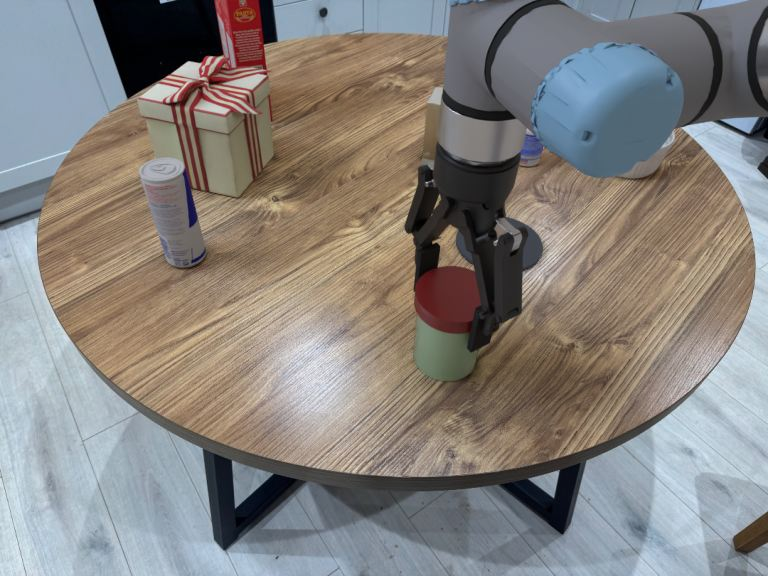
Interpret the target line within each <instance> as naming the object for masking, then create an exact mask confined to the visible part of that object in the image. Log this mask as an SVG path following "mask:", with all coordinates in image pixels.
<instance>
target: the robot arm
mask: <svg viewBox="0 0 768 576" xmlns="http://www.w3.org/2000/svg"><path fill="white" fill-rule="evenodd" d="M449 7H450V8H449V17H448V29H447V38H446V49H445V59H444V71H443V72H444V73H443V82H442V86H443V87H442V88H443V93H442V96H441V104H440V112H439V120H438V128H437V139H438V142H437V145H436V151H435V160H434V162H432V163H429V164H426V165H421V166H418V169H417V184H416V185H417V186H416V189H415V191H414V194H413V198H412V200H411V204H410V207H409V210H408V214H407V216H406V219H405V222H404V225H403V227H404V231H405V233H406V234H407V235H412V236H413V238H412V242H413V245H414V247H415V248H414V249H415V251H414V264H415V271H414V280H413V292H414V293H415V287H416V284H417V282H418V280H419V279H420V277H421V276H422V275H423V274H425V273H426V272H428V271H430V270H432V269H434V268H438V267H439V263H440V262H439V261H440V255H441V244H439V242H435V241H437V240H439V239H441V238H442V237H441V235H442V234H443V233H444V232H445V231H446V230H447V228H448V227H449V226H451V227H453V228H455V229H456V230H457V231H458V230H459V232H460V233H461V234H462V235H463V236H464V241H465V246H466V250H467V251H468V252H470V253H471V255H472V260H473V264H472V265H473V271H475V276H476V281H477V286H478V291H479V296H480V302H481V305H480V306H478V307H476V308H475V312H474V317H473V321H472V326H471V331H470V335H469V340H468V345H467V349H468V350H469V351H470V352H471V353H472V352H474V351H476V350H478V349H479V350H480V349H481V348H483V347H486V346H487V345H489V344H491V341H492V337H493V334H494V333H496V332H497V331H498V330H499V329H500V326H501V324H504V323H505V322H508V321H510V320H511V319H513V318H516V317H518V316H520V315H522V312H523V280H524V279H523V278H524V277H523V275H524V273H523V272H524V271H523V249H524V247H525V244H526V241H527V239H528V231H527V229H526V228H525V227H523V226H521V227H519V228H517V229H515V228H514V227H513V226H512V225H511V224H510V223H509V222H508V221H507V220H506V217H507V211H506V207H505V206H506V202H507V199H508V197H509V196H510V195H511V193H512V191H513V189H514V187H515V184H516V180H517V176H518V171H519V167H520V165H519V163H520V159H521V152H520V151H521V149H522V148H523V144H524V140H525V135H526V131H527V129H529V130H530V131H531V132H532V133H533V134H534V135H535V136H536V137H537V139H539V140H540V143H541V144H542V145H543V147H544V149H546V150H547V151H549V153H553V154H554V155H555V156H557V158H562V159H563V160H564V161H565V162H567V163H568V164H570V165H571V166H572V167H573V168H574V169H576V170H577V171H579V172H580V173H581V174H583V175H585V176H588V177H592V178H596V179H610V178H616V177H618V176H619V175H622V174H625V173H627V172H629V171H630V170H631V169H632V168H633V167H634V165H635V164H636V163H637V162H639V161H644V162H645V161H647V160H648V159H649V158H650V157H652V156H653V155H654V154H655V153H656V152H657V151H658V150H659V149H660V148H661V147H662V146H663V144H664V143H665V142H666V141H667V139H668V138H669V136H670V135H671V133H672V132H673V131H674V130H677V129H680V128H685V127H687V126H692V125H698V124H704V123H709V122H715V121H722V120H729V119H730V120H731V119H746V118H768V0H744V1H739V2H735V3H730V4H725V5H720V6H714V7H713V6H712V7H707V8H702V9H701V8H700V9H696V10H695V9H694V10H690V11H679V12H671V13H662V14H653V15H648V16H640V17H633V18H624V19H619V20H611V21H600V20H595V19H592V18H590V17H588V16H587V15H585V14H583V13H582V12H580V11H578V10H577V9H574V8H572V7H571V6H569V4H567V3H566V2H564V1H563V0H449ZM439 197H440V200H439ZM438 200H439V201H438ZM486 234H488V236H487V237H485V238H483V239H481V240H478V241H476V238H479V237H481V236H484V235H486Z"/></svg>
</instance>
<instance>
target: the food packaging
mask: <svg viewBox="0 0 768 576" xmlns="http://www.w3.org/2000/svg"><path fill="white" fill-rule="evenodd" d="M213 1H214V7H215V12H216V18H217V23H218V29H219V36H220V42H221V48H222V54H223V57H227V58H230V60H229V61H226V63H225V64H224V65H225V68H234V67H245V66H249V67H253V68H258V69H262V70H268V69H267V60H266V53H265V44H264V43H265V42H264V34H263V27H262V18H261V10H260V9H261V8H260V1H259V0H213ZM261 75H266V76H268V72H267V73H264V74H261ZM268 99H269V109H270V118H271V123H272V122H274V119H273V111H272V110H273V109H272V103H271V94H270V95H269V96H268Z"/></svg>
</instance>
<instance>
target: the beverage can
mask: <svg viewBox="0 0 768 576" xmlns="http://www.w3.org/2000/svg"><path fill="white" fill-rule="evenodd" d="M138 174H139V177H140V182H141V185H142V188H143V192H144V194H145V198H146V200H147V203H148V206H149V210H150V212H151V216H152V220H153V222H154V225H155V229H156V231H157V233H158V237H159V240H160V244H161V247H162V250H163V253H164V256H165V260H166V262H167V263H168V264H169V265H171V266H173V267H176V268H182V269H183V268H190V267H194V266H196V265H197V264H199V263H201V262H202V261H203V260H204V259H205V257H206V256H207V248H206V244H205V240H204V235H203V231H202V228H201V223H200V220H199V216H198V212H197V208H196V204H195V201H194V196H193V193H192V188H191V187H190V184H189V180H188V176H187V172H186V169H185V166H184V164H183V162H181V161H180V160H178V159H175V158H157V159H156V158H153V159H151V160H148V161H146V162H144V163H143V164H142V165H141V166H140V168H139V169H138Z"/></svg>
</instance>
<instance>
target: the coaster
mask: <svg viewBox="0 0 768 576" xmlns="http://www.w3.org/2000/svg"><path fill="white" fill-rule="evenodd" d="M506 220H507V221H508V222H509V223H510V224H511V225H512V226H513V227H514V228H515V229H517V228H519V227H521V226H523V227H525V228H526V229H527V231H528V239H527V241H526V244H525V247H524V249H523V272H524V271H527V270H529V269H531V268H533V267H534V266H535V265H536V264H537V263H539V261H540V260H541V257H542V254H543V250H544V245H543V241H542V239H541V237H540V236H539V234H538V233H537V232H536V231H535V230H534V229H533V228H532V227H531V226H530V225H528V224H527V223H524V222H522V221H520V220H518V219H515V218H512V217H508V216H506ZM487 236H488V234H486V235H484V236H481V237H479V238H476V241H478V240H481V239H483V238H485V237H487ZM455 245H456V246H455V247H456V249H457V251H458V252H459V254H460V255H461V257H463V258H464V259H465V260H466V261H467V262H468V263H470V265H473V260H472V255H471V253H470V252H468V251H467V250H466V246H465V241H464V236H463V235H462V234H461V233H460V232H459V230H458V229H457V231H456V235H455Z"/></svg>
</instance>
